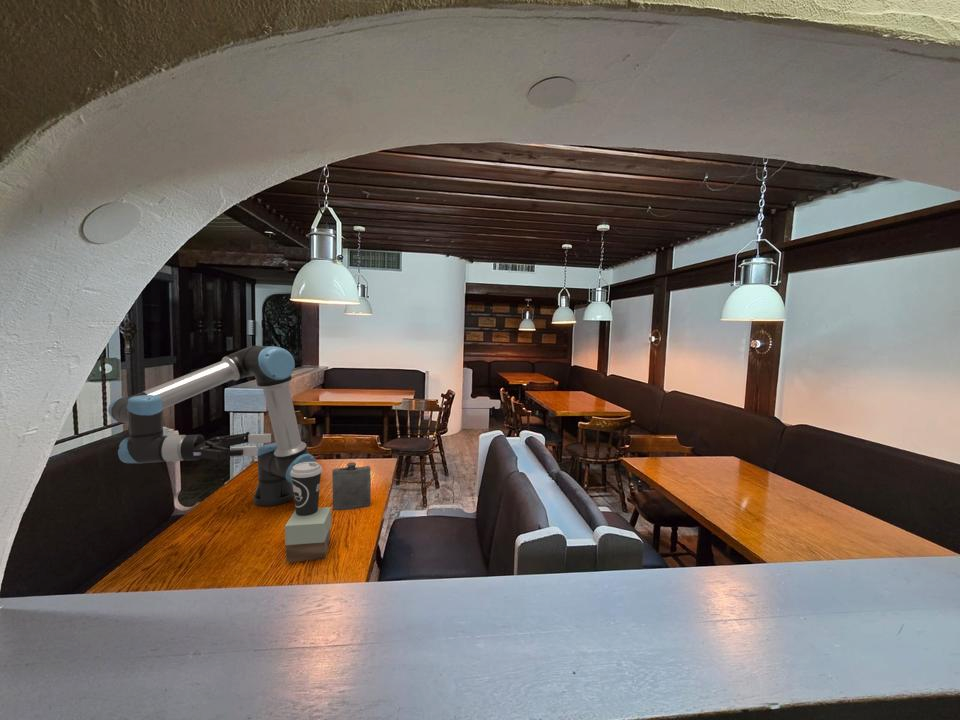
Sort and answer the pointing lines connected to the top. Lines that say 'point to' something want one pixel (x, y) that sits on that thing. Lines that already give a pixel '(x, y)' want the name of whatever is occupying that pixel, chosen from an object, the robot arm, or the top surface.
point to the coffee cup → (306, 487)
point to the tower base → (307, 551)
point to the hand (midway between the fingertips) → (264, 444)
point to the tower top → (308, 527)
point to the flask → (351, 487)
